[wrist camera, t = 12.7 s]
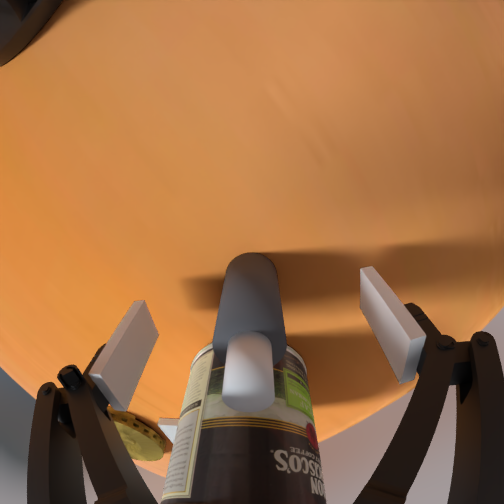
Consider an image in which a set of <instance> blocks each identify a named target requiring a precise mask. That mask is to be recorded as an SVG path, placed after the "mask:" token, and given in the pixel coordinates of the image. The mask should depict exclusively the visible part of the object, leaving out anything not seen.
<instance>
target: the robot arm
mask: <svg viewBox="0 0 504 504" xmlns="http://www.w3.org/2000/svg"><path fill="white" fill-rule="evenodd" d="M61 2H62V0H0V66H2V65H4V64H5V63H7V62H8V61H9V60H11V59H12V58H13V57H14V56H15V55H17V54H18V53H19V52H20V51H21V50H22V49H23V48H24V47H25V46H26V45H27V44H28V43H29V42H30V41H31V40H32V38H33V37H34V36H35V35H36V34H37V33H38V32H39V30H40V29H41V28H42V27H43V26H44V24H45V23H46V22H47V21H48V19H49V18H50V17H51V15H52V14H53V13H54V11H55V10H56V9H57V7H58V6H59V5H60V3H61ZM360 309H361V310H362V312H363V314H364V316H365V318H366V319H367V321H368V323H369V325H370V327H371V329H372V331H373V332H374V334H375V336H376V338H377V340H378V342H379V344H380V346H381V348H382V350H383V352H384V353H385V355H386V357H387V359H388V361H389V363H390V365H391V367H392V369H393V371H394V373H395V375H396V377H397V380H398V382H399V384H402V383H405V382H408V381H411V380H414V378H415V375H416V372H418V374H419V379H418V382H417V384H416V387H415V390H414V392H413V395H412V397H411V400H410V402H409V405H408V407H407V410H406V411H405V414H404V416H403V418H402V420H401V423H400V425H399V427H398V429H397V431H396V433H395V435H394V437H393V439H392V441H391V443H390V445H389V447H388V449H387V450H386V452H385V454H384V456H383V458H382V459H381V461H380V463H379V465H378V466H377V468H376V470H375V471H374V473H373V475H372V477H371V478H370V480H369V481H368V483H367V484H366V485H365V487H364V488H363V490H362V491H361V493H360V494H359V496H358V497H357V499H356V500H355V502H354V503H353V504H404V503H405V501H406V496H407V493H408V491H409V489H410V487H411V486H412V484H413V482H414V480H415V478H416V475H417V473H418V471H419V469H420V467H421V465H422V463H423V460H424V458H425V456H426V453H427V451H428V448H429V446H430V443H431V441H432V438H433V435H434V433H435V430H436V427H437V424H438V421H439V418H440V415H441V412H442V409H443V406H444V402H445V399H446V395H447V391H448V388H449V386H450V385H456V396H457V397H456V400H457V420H456V421H457V423H456V443H455V456H454V466H453V473H452V481H451V487H450V492H449V498H448V503H447V504H504V376H503V371H502V366H501V362H500V358H499V354H498V350H497V346H496V342H495V339H494V337H493V336H492V335H491V334H489V333H487V332H483V331H480V332H476V333H474V334H473V336H472V337H471V340H470V341H466V342H456V341H455V339H454V338H452V337H451V336H448V335H441V333H440V332H439V331H438V329H437V328H436V327H435V326H434V324H433V323H432V322H431V321H430V319H428V317H427V316H426V314H424V312H423V311H422V310H421V308H420V307H419V306H417V305H415V304H413V303H408V304H404V305H403V303H402V302H401V301H400V300H399V298H398V297H397V296H396V295H395V293H394V292H393V291H392V289H391V288H390V287H389V286H388V285H387V283H386V282H385V281H384V280H383V278H382V277H381V276H380V275H379V274H378V272H377V271H376V270H375V269H374V268H373V266H370V267H364V268H360ZM158 336H159V334H158V331H157V329H156V327H155V324H154V322H153V320H152V317H151V315H150V312H149V310H148V307H147V305H146V302H145V300H141V301H134V303H133V304H132V306H131V307H130V309H129V310H128V311H127V313H126V314H125V316H124V317H123V319H122V321H121V322H120V324H119V325H118V327H117V328H116V330H115V331H114V333H113V334H112V336H111V337H110V339H109V341H108V342H107V344H104V345H103V346H101V347H100V348H99V349H98V351H97V352H96V354H95V355H94V356H95V357H93V358H92V360H91V362H90V363H89V365H88V366H87V368H86V370H85V371H84V373H83V375H82V374H81V372H80V371H79V369H78V368H77V366H76V365H68V366H65V367H64V368H62V369H61V370H60V371H59V373H58V376H57V378H58V380H59V381H60V382H61V384H62V385H63V387H64V388H57V387H56V385H55V384H54V383H53V382H47V383H45V384H43V385H42V386H41V387H40V389H39V391H38V394H37V399H36V404H35V410H34V415H33V421H32V428H31V436H30V445H29V456H28V472H27V504H87V502H86V495H85V488H84V478H83V467H82V457H83V460H84V463H85V466H86V469H87V471H88V474H89V477H90V480H91V482H92V485H93V487H94V490H95V492H96V494H97V497H98V500H97V501H95V503H94V504H158V503H157V501H156V500H155V498H154V497H153V495H152V493H151V492H150V490H149V489H148V487H147V485H146V484H145V482H144V480H143V479H142V477H141V475H140V473H139V472H138V470H137V468H136V466H135V464H134V462H133V461H132V459H131V457H130V455H129V453H128V451H127V449H126V447H125V445H124V443H123V441H122V439H121V436H120V434H119V432H118V430H117V428H116V425H115V423H114V421H113V418H112V416H111V414H110V412H109V410H108V409H107V407H108V405H109V404H110V405H111V406H112V408H113V409H114V410H117V411H125V412H126V411H127V409H128V406H129V404H130V401H131V399H132V396H133V394H134V392H135V389H136V387H137V384H138V382H139V379H140V377H141V375H142V372H143V370H144V368H145V365H146V363H147V361H148V358H149V356H150V354H151V352H152V349H153V347H154V345H155V343H156V340H157V338H158ZM58 420H59V421H58Z"/></svg>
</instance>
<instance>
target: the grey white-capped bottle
mask: <svg viewBox="0 0 504 504" xmlns="http://www.w3.org/2000/svg"><path fill="white" fill-rule="evenodd" d="M212 346H213V351H214V353H215V355H216V357H217V358H218V359H219V360H220V361H221V362H222V363H223V364H225V372H224V380H223V389H222V400H223V402H224V403H225V404H226V405H227V406H228V407H229V408H231V409H234V410H236V411H240V412H258V411H262V410H264V409H266V408H268V407H270V406H271V405H272V404H273V402H274V400H275V392H274V376H273V366H274V365H275V364H277V363H278V362H279V361H280V360H281V359H282V358H283V356H284V354H285V352H286V349H287V341H286V334H285V326H284V319H283V312H282V305H281V298H280V292H279V285H278V278H277V272H276V268H275V266H274V264H273V263H272V262H271V261H270V260H269V259H268V258H267V257H265V256H264V255H261V254H258V253H245V254H241V255H239V256H237V257H236V258H234V259H233V260H232V261H231V262H230V264H229V265H228V267H227V270H226V275H225V280H224V285H223V290H222V295H221V300H220V305H219V310H218V315H217V320H216V326H215V331H214V336H213V342H212Z"/></svg>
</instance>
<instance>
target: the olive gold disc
mask: <svg viewBox="0 0 504 504" xmlns="http://www.w3.org/2000/svg"><path fill="white" fill-rule="evenodd" d="M107 409H108V410H109V412H110V414H111V416H112V418H113V421H114V423H115V425H116V428H117V430H118V432H119V434H120V436H121V439H122V441H123V443H124V445H125V447H126V449H127V451H128V453H129V455H130V457H131V458H132V459H136V460H142V461H156V460H159V459H161V458H162V457H163V455H164V450H165V446H166V441H165V440H164V439H162V438H161V437H160V436H159V435H158V434H157V433H156V432H155V431H153V430H152V429H151V428H149V427H148V426H146V425H144V424H143V423H141V422H139V421H137V420H135V417H136V416H134V415H132V414H130V413H127V412H125V411H117V410H114V409H113V408H112V407H110V406H108V407H107Z"/></svg>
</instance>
